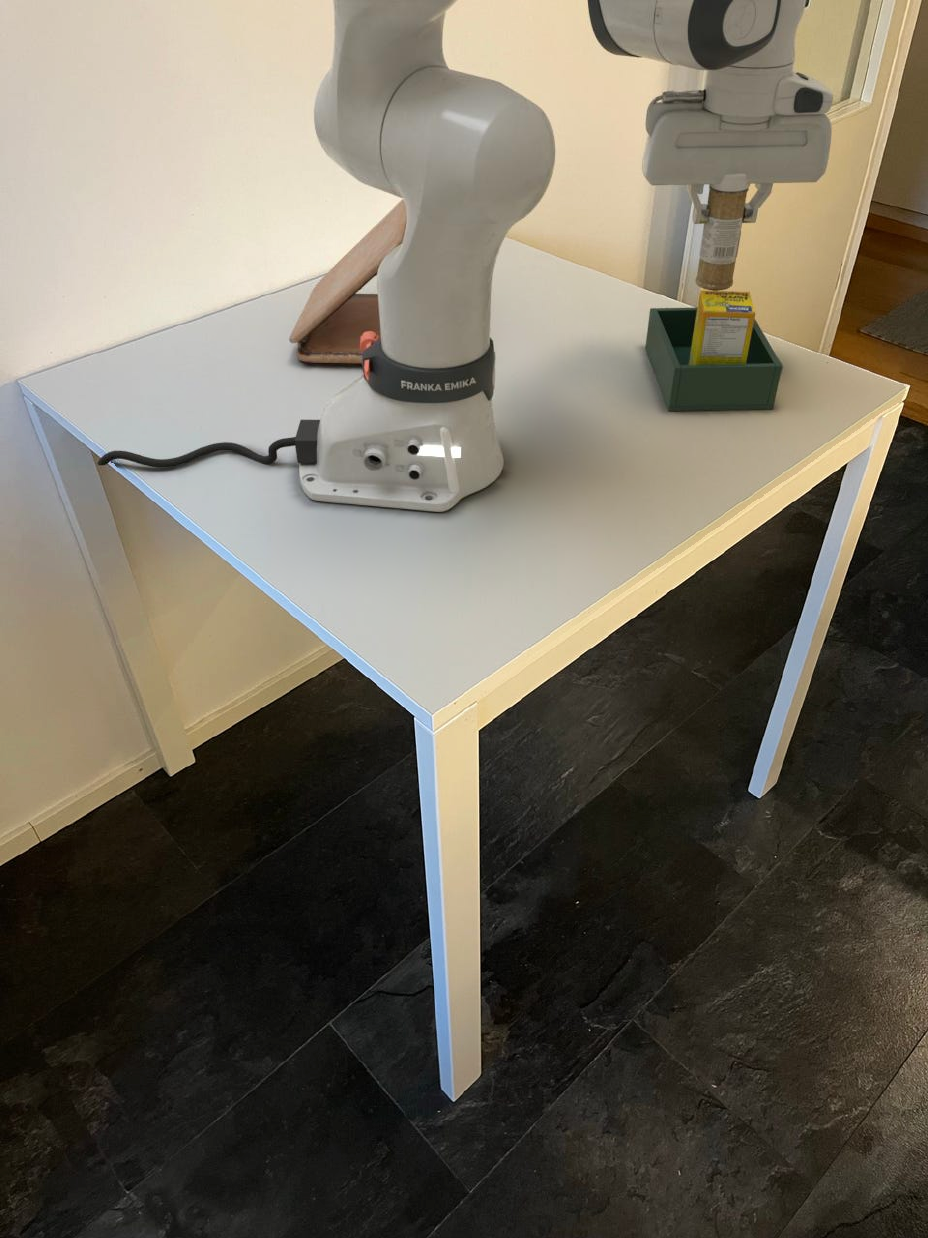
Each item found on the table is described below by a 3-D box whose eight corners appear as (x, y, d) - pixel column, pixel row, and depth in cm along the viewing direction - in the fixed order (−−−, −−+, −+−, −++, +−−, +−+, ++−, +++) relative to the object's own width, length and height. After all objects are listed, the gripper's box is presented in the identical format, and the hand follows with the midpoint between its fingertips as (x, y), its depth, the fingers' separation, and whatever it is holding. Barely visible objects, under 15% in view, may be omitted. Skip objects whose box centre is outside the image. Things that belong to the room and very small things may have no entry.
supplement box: (734, 375, 120) (750, 290, 113) (739, 398, 115) (757, 311, 108) (686, 373, 120) (699, 288, 113) (689, 396, 116) (703, 310, 109)
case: (318, 301, 139) (305, 185, 129) (462, 305, 138) (460, 188, 127) (286, 366, 124) (268, 241, 113) (448, 371, 123) (445, 245, 112)
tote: (668, 411, 115) (674, 368, 111) (645, 348, 127) (650, 307, 123) (773, 409, 115) (782, 365, 111) (739, 346, 127) (747, 305, 123)
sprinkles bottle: (733, 278, 118) (753, 162, 109) (731, 293, 114) (752, 175, 106) (695, 275, 119) (712, 160, 110) (692, 290, 115) (710, 172, 106)
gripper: (654, 98, 100) (639, 233, 109) (849, 95, 100) (817, 229, 109) (643, 83, 105) (630, 214, 114) (830, 80, 105) (801, 210, 114)
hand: (723, 221), depth 112 cm, fingers closed on sprinkles bottle, 4 cm apart
